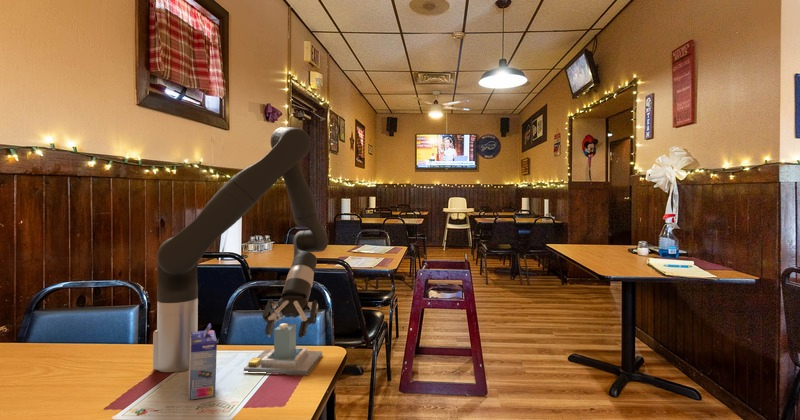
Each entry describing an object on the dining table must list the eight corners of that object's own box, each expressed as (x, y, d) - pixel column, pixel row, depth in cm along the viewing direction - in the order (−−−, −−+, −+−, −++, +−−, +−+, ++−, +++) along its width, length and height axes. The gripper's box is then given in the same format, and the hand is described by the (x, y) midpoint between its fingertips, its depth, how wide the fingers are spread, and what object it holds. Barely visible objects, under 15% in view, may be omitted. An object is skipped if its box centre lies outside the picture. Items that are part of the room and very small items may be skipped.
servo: (273, 362, 107) (274, 325, 107) (281, 355, 112) (281, 320, 112) (289, 363, 107) (289, 326, 107) (295, 356, 112) (295, 320, 112)
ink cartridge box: (217, 396, 90) (217, 329, 90) (188, 401, 88) (189, 333, 88) (214, 379, 99) (214, 319, 99) (188, 384, 96) (188, 321, 96)
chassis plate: (243, 373, 103) (243, 362, 103) (266, 353, 117) (266, 344, 117) (307, 375, 102) (307, 364, 102) (322, 355, 116) (322, 345, 116)
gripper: (271, 276, 118) (253, 328, 107) (320, 277, 117) (308, 329, 106) (277, 291, 123) (261, 342, 112) (325, 292, 122) (313, 344, 111)
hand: (284, 336), depth 109 cm, fingers open, 8 cm apart
